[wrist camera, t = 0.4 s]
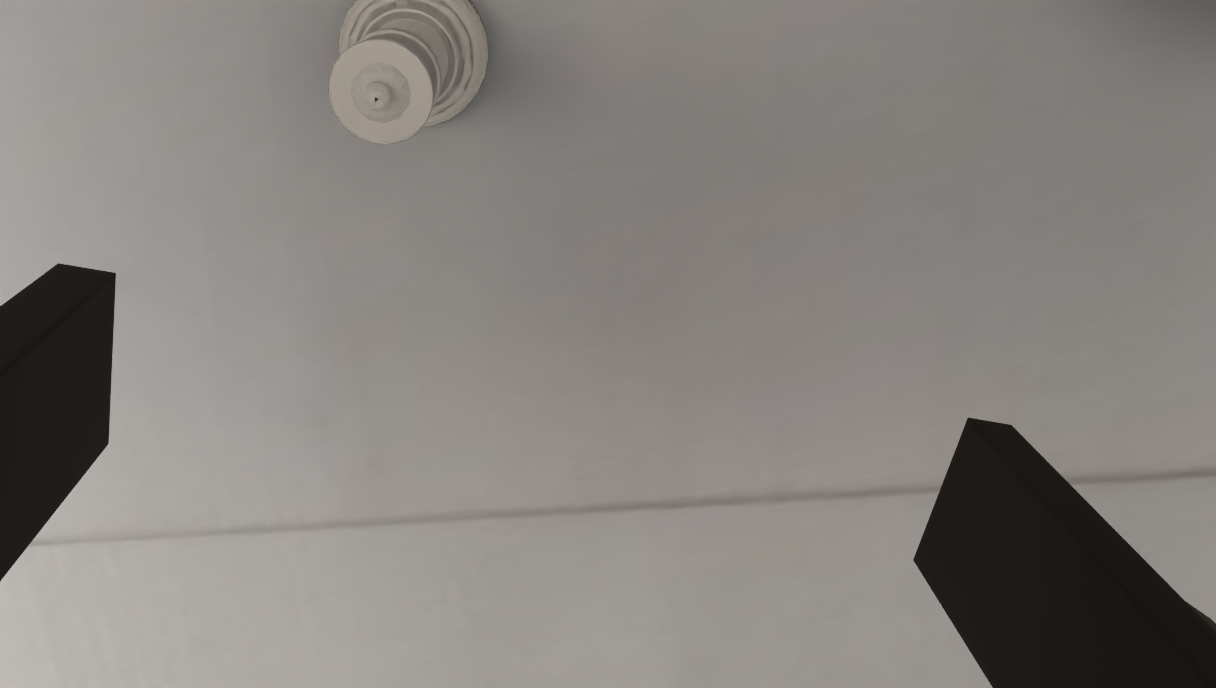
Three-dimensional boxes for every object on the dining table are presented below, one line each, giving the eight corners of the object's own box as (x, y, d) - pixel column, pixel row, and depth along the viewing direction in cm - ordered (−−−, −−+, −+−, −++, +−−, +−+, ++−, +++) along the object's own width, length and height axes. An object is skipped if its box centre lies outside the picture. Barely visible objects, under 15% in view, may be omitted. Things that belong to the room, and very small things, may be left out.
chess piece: (506, 0, 31) (501, 30, 22) (467, 138, 32) (448, 221, 23) (362, -48, 30) (295, -38, 21) (330, 96, 32) (253, 165, 22)
